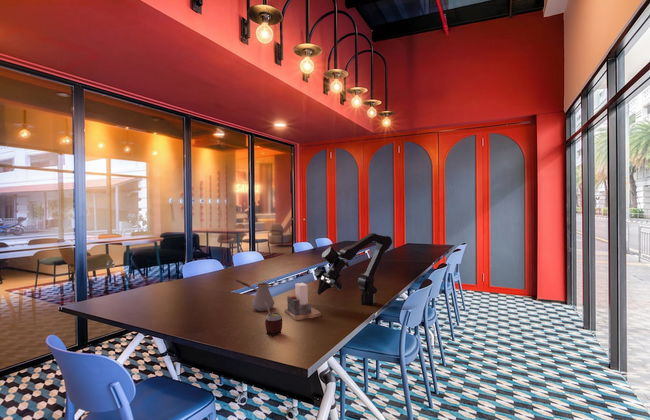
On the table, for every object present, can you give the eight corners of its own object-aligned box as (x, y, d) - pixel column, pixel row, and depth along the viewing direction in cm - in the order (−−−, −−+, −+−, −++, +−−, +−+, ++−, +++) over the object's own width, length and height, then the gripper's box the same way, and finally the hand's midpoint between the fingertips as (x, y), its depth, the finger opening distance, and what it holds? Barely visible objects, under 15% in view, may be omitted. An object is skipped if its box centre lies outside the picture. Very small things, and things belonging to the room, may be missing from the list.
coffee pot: (277, 306, 183) (277, 278, 182) (270, 312, 171) (269, 282, 171) (239, 304, 186) (239, 277, 186) (230, 311, 175) (229, 281, 175)
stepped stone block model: (309, 308, 177) (309, 290, 177) (321, 316, 165) (320, 296, 165) (284, 312, 171) (284, 293, 171) (295, 320, 159) (294, 300, 159)
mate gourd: (283, 330, 146) (282, 295, 146) (281, 337, 138) (280, 300, 138) (265, 331, 145) (265, 295, 145) (262, 338, 138) (262, 300, 137)
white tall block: (303, 308, 171) (302, 282, 171) (307, 311, 166) (307, 285, 166) (295, 309, 170) (295, 283, 169) (300, 312, 164) (299, 285, 164)
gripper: (356, 282, 172) (338, 308, 168) (334, 273, 188) (318, 297, 183) (343, 270, 167) (324, 296, 163) (322, 261, 183) (305, 285, 178)
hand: (318, 294), depth 172 cm, fingers closed
